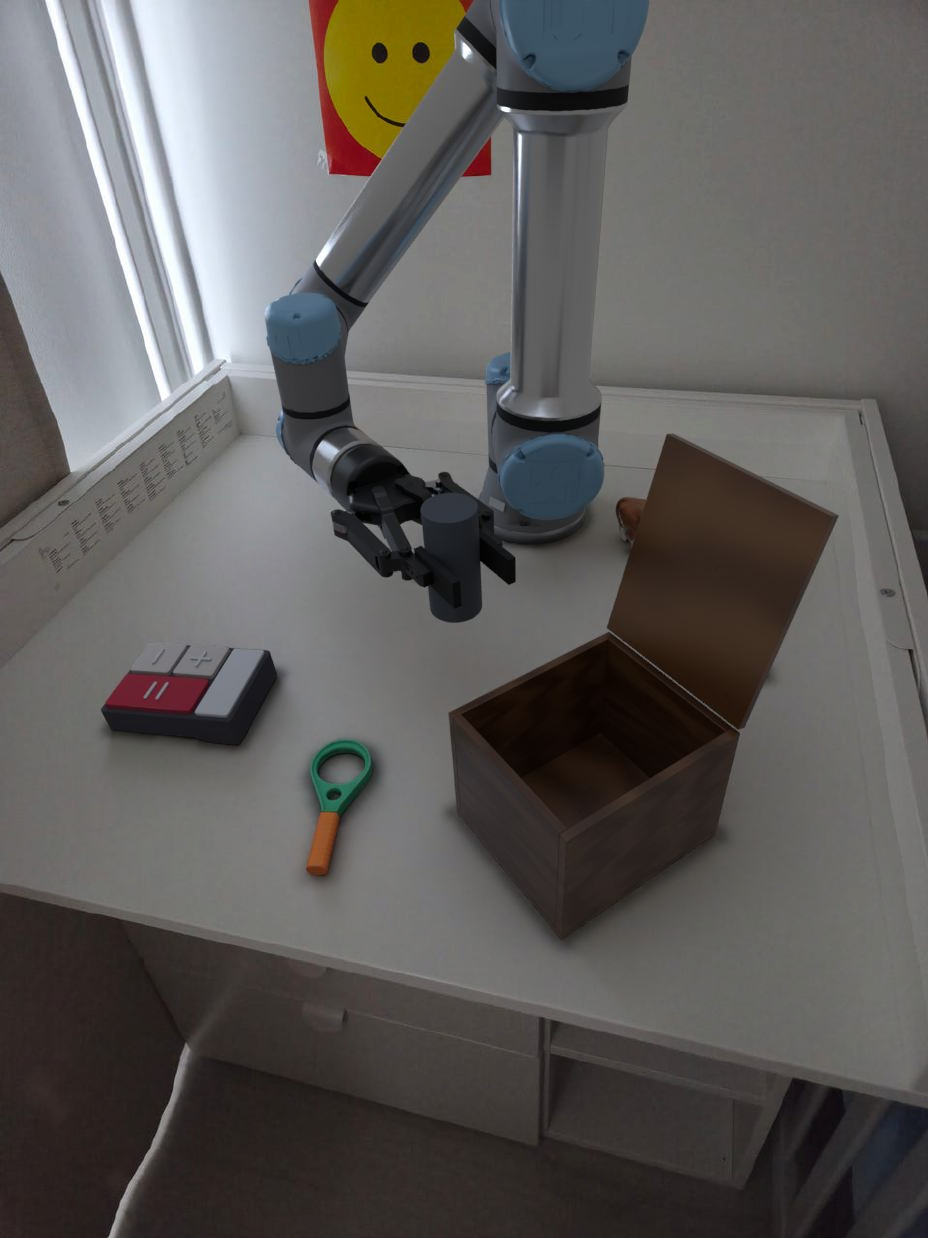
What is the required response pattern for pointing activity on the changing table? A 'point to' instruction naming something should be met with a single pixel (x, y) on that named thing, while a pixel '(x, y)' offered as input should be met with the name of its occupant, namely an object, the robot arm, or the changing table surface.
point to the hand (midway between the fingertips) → (484, 582)
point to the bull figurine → (629, 516)
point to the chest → (589, 777)
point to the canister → (454, 551)
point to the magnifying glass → (333, 801)
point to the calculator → (192, 692)
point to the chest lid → (716, 575)
